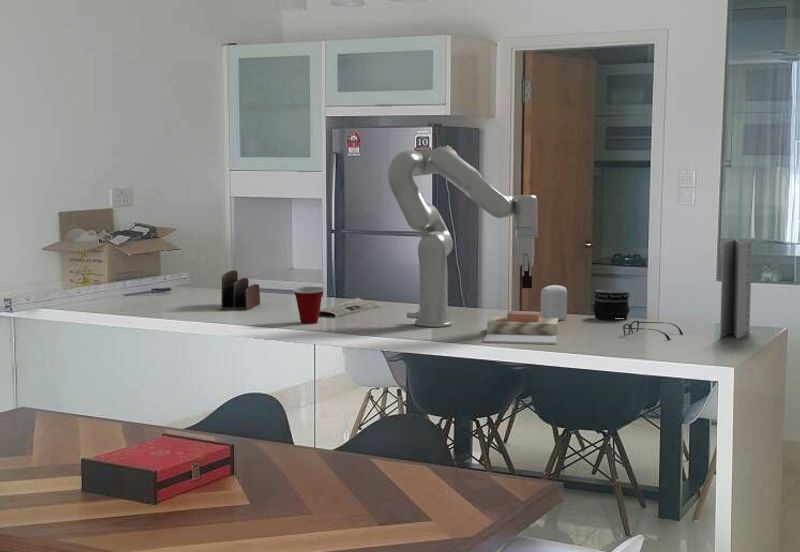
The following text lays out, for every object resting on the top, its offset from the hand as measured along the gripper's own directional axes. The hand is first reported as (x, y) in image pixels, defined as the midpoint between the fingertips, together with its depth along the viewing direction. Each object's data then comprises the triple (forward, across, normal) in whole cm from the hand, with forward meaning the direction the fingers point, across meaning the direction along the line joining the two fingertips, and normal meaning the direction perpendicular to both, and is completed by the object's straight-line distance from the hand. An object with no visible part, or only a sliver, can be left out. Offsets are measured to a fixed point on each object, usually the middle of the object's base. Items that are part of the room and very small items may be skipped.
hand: (527, 287), depth 354 cm
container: (+14, -29, +28) cm, 43 cm away
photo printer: (+14, -21, +8) cm, 27 cm away
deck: (+13, +10, -1) cm, 17 cm away
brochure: (+15, +4, +66) cm, 68 cm away
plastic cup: (+12, -1, -75) cm, 76 cm away
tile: (+8, +9, -1) cm, 13 cm away
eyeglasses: (+15, +9, +40) cm, 44 cm away
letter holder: (+11, -39, -111) cm, 119 cm away
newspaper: (+12, -34, -69) cm, 78 cm away
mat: (+14, +25, -1) cm, 29 cm away
